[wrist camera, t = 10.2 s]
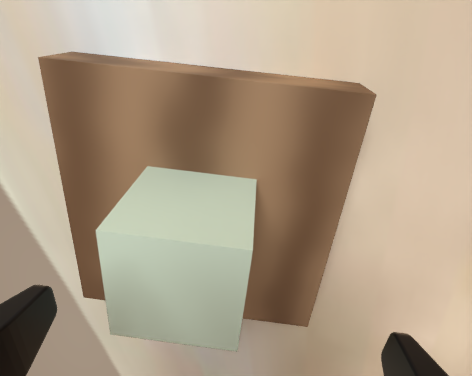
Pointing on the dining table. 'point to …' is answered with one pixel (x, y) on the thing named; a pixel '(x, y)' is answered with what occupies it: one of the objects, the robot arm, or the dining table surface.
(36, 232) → the dining table surface
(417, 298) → the dining table surface
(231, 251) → the sage cube
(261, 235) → the walnut board
